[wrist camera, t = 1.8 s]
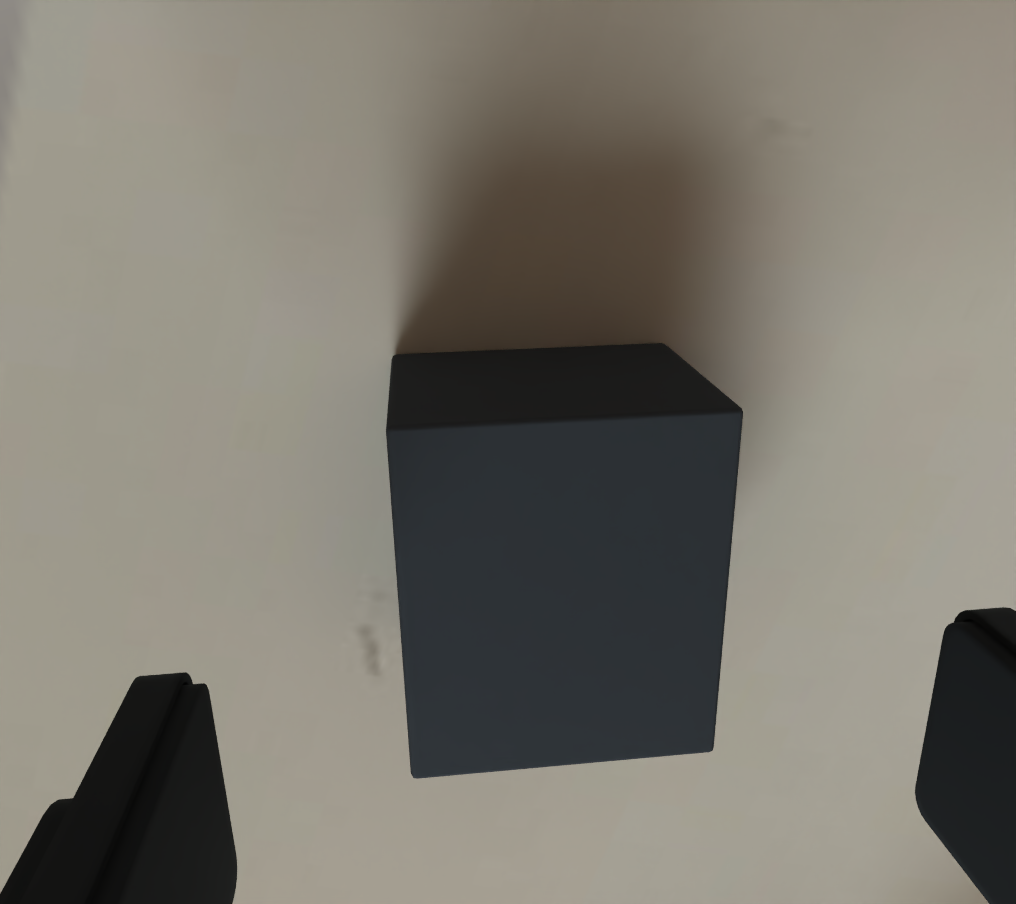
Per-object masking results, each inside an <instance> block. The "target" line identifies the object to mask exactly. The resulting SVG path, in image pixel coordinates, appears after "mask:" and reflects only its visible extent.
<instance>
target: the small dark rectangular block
mask: <svg viewBox="0 0 1016 904" xmlns="http://www.w3.org/2000/svg"><path fill="white" fill-rule="evenodd" d="M742 418H743V411H742V408H740V407H739V406H738V405H737V404H736V403H735V402H733V401H732V400H731V399H730V398H729V397H727V396H726V395H725V394H724V393H723V392H721V391H720V390H719V389H718V388H717V387H715V386H714V385H713V384H712V383H711V382H709V381H708V380H707V379H706V378H705V377H703V376H702V375H701V374H700V373H699V372H698V371H696V370H695V369H694V368H693V367H692V366H690V365H689V364H688V363H687V362H686V361H684V360H683V359H682V358H681V357H680V356H678V355H677V354H676V353H675V352H674V351H672V350H671V349H670V348H669V347H668V346H666V345H665V344H663V343H654V344H631V345H607V346H584V347H561V348H537V349H514V350H490V351H467V352H444V353H420V354H397V355H394V356H393V358H392V363H391V376H390V388H389V401H388V414H387V426H386V436H387V450H388V464H389V477H390V491H391V505H392V519H393V533H394V546H395V560H396V574H397V588H398V602H399V615H400V629H401V643H402V657H403V670H404V684H405V698H406V712H407V726H408V739H409V753H410V767H411V774H412V776H413V778H428V777H439V776H450V775H461V774H472V773H483V772H494V771H505V770H516V769H527V768H538V767H549V766H560V765H571V764H582V763H593V762H604V761H615V760H626V759H638V758H649V757H660V756H671V755H682V754H693V753H704V752H711V751H712V750H713V747H714V736H715V725H716V713H717V702H718V691H719V679H720V668H721V657H722V645H723V634H724V623H725V611H726V600H727V589H728V577H729V566H730V555H731V543H732V532H733V521H734V509H735V498H736V487H737V475H738V464H739V452H740V441H741V430H742Z"/></svg>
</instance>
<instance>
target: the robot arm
mask: <svg viewBox="0 0 1016 904" xmlns="http://www.w3.org/2000/svg"><path fill="white" fill-rule="evenodd" d="M915 795H916V801H917V805H918V808H919V810H920V813H921V815H922V816H923V818H924V819H925V821H926V822H927V823H928V825H929V826H930V827H931V829H932V830H933V831H934V833H935V834H936V835H937V836H938V838H939V839H940V840H941V842H942V843H943V844H944V845H945V847H946V848H947V849H948V851H949V852H950V853H951V855H952V856H953V857H954V858H955V860H956V861H957V862H958V864H959V865H960V866H961V868H962V869H963V870H964V871H965V873H966V874H967V875H968V877H969V878H970V879H971V880H972V882H973V883H974V884H975V886H976V887H977V888H978V890H979V891H980V892H981V893H982V895H983V896H984V897H985V899H986V900H987V901H988V903H989V904H1016V611H1015V610H1013V609H1011V608H990V609H978V610H965V611H963V612H961V613H959V614H958V616H957V617H956V618H955V621H954V623H951V624H949V625H948V626H947V627H946V628H945V631H944V634H943V639H942V645H941V650H940V656H939V661H938V666H937V672H936V677H935V683H934V688H933V694H932V699H931V705H930V710H929V716H928V721H927V726H926V732H925V737H924V743H923V748H922V754H921V759H920V765H919V770H918V776H917V781H916V787H915ZM236 881H237V858H236V851H235V845H234V839H233V833H232V827H231V821H230V815H229V809H228V803H227V797H226V791H225V785H224V779H223V773H222V767H221V761H220V755H219V749H218V742H217V736H216V730H215V724H214V718H213V712H212V706H211V700H210V695H209V690H208V687H207V685H206V684H204V683H203V684H193V683H192V679H191V677H190V675H189V674H188V673H173V674H161V675H148V676H139V677H137V678H135V680H134V681H133V683H132V684H131V686H130V688H129V690H128V692H127V694H126V696H125V698H124V700H123V702H122V704H121V706H120V708H119V710H118V712H117V714H116V716H115V718H114V720H113V721H112V723H111V725H110V727H109V729H108V731H107V733H106V735H105V737H104V739H103V741H102V743H101V745H100V747H99V749H98V751H97V753H96V755H95V757H94V759H93V761H92V762H91V764H90V766H89V768H88V770H87V772H86V774H85V776H84V778H83V780H82V782H81V784H80V786H79V788H78V790H77V792H76V794H75V796H74V798H71V799H60V800H57V801H56V802H54V803H53V804H51V805H50V806H49V808H48V809H47V811H46V812H45V813H44V815H43V816H42V818H41V820H40V822H39V824H38V826H37V827H36V829H35V831H34V833H33V835H32V837H31V838H30V840H29V842H28V844H27V846H26V848H25V849H24V851H23V853H22V855H21V857H20V859H19V861H18V862H17V864H16V866H15V868H14V870H13V872H12V873H11V875H10V877H9V879H8V881H7V883H6V884H5V886H4V888H3V890H2V892H1V894H0V904H232V903H233V898H234V894H235V889H236Z"/></svg>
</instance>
